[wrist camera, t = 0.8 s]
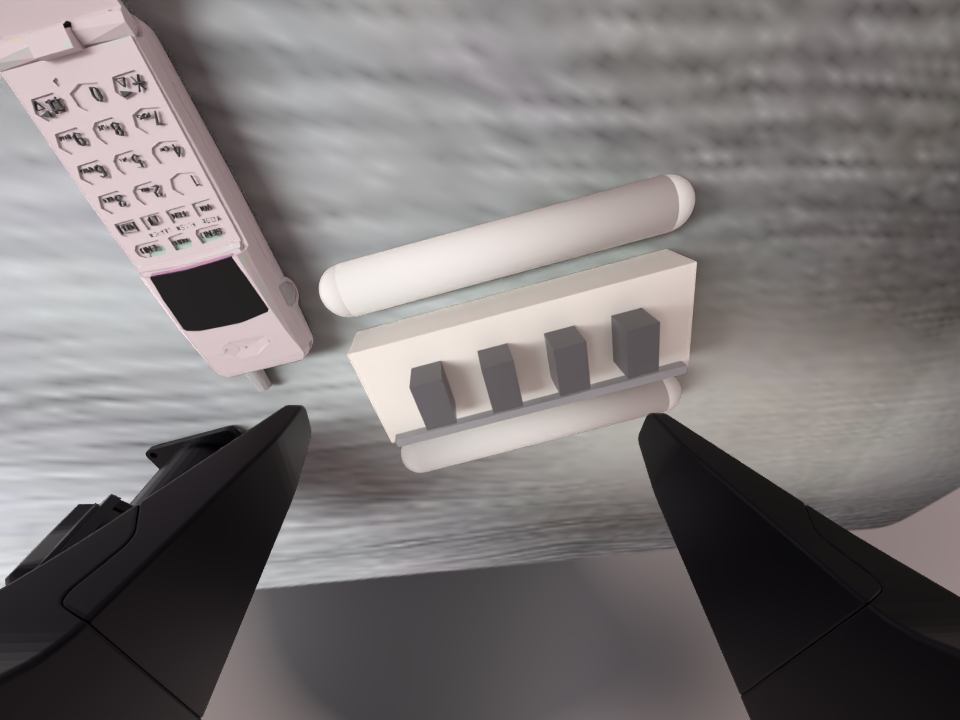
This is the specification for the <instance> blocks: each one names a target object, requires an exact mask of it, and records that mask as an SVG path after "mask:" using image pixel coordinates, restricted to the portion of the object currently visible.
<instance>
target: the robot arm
mask: <svg viewBox="0 0 960 720" xmlns="http://www.w3.org/2000/svg"><path fill="white" fill-rule="evenodd" d="M228 433H229V434H228ZM230 434H231V435H230ZM310 439H311V427H310V423H309V419H308V415H307V411H306V408H305V407H304V406H302V405H287V406H285V407H283V408H281V409H280V410H278V411H277V412H275V413H274V414H272V415H271V416H269V417H268V418H266V419H265V420H263V421H262V422H260V423H259V424H257V425H256V426H254V427H253V428H251V429H250V430H248V431H247V432H245V433H244V434H242V435H241V433H240V432H239V431H238V430H237V429H236V428H234V427H225V428H221V429H217V430H214V431H210V432H206V433H202V434H198V435H195V436H191V437H187V438H183V439H179V440H175V441H172V442H168V443H164V444H160V445H156V446H153V447H151V448H150V449H149V450H148V451H147V452H146V456H147V457H148V458H149V459H150V460H151V461H152V462H153V463H154V464H155V465H156V466H157V467H158V468H159V471H158V472H157V473H156V474H155V475H154V476H153V478H152V479H151V480H150V481H149V482H148V483H147V484H146V486H145V487H144V488H143V489H142V490H141V491H140V493H139V494H138V495H137V496H136V497H135V498H134V500H133V501H132V502H131V503H130V504H128V503H126V502H124V501H122V500H120V499H121V498H120V497H117V496H115V495H113V494H111V495H109V496H108V497H107V498H106V499H105V500H104V501H103V502H102V503H101V504H100V505H99V504H96V503H95V504H79V505H78V506H77V507H75V508H74V509H73V510H72V511H71V512H70V513H69V514H68V515H67V516H66V517H65V518H64V519H63V520H62V521H61V522H60V523H59V524H58V525H57V526H56V527H55V528H54V529H53V530H52V531H51V532H50V533H49V534H48V535H47V536H46V537H45V538H44V539H43V540H42V541H41V542H40V543H39V544H38V545H37V546H36V547H35V548H34V550H33V551H32V552H31V553H30V554H29V555H28V556H27V557H26V558H25V559H24V560H23V561H22V562H21V563H20V564H19V565H18V566H17V567H16V568H15V569H14V570H13V571H12V572H11V573H10V574H9V575H8V576H7V578H6V579H5V585H6V586H5V587H3V588H1V589H0V720H201V717H202V716H203V715H204V712H205V710H206V708H207V705H208V703H209V700H210V698H211V695H212V693H213V690H214V688H215V686H216V683H217V681H218V678H219V676H220V674H221V671H222V669H223V666H224V664H225V662H226V659H227V657H228V654H229V651H230V649H231V647H232V645H233V642H234V640H235V637H236V635H237V633H238V630H239V628H240V625H241V623H242V620H243V618H244V615H245V613H246V611H247V608H248V606H249V604H250V601H251V599H252V596H253V594H254V591H255V589H256V587H257V584H258V582H259V579H260V577H261V575H262V572H263V570H264V567H265V565H266V562H267V560H268V558H269V555H270V553H271V550H272V548H273V546H274V543H275V541H276V538H277V536H278V533H279V531H280V529H281V526H282V524H283V521H284V519H285V517H286V514H287V512H288V509H289V507H290V504H291V502H292V499H293V497H294V494H295V491H296V488H297V485H298V481H299V478H300V474H301V471H302V467H303V464H304V460H305V457H306V453H307V450H308V446H309V442H310ZM638 441H639V446H640V449H641V452H642V455H643V459H644V462H645V465H646V468H647V472H648V475H649V478H650V481H651V485H652V488H653V491H654V494H655V496H656V499H657V501H658V504H659V506H660V508H661V511H662V513H663V515H664V518H665V520H666V522H667V525H668V527H669V529H670V532H671V534H672V536H673V539H674V541H675V543H676V546H677V548H678V550H679V553H680V555H681V557H682V560H683V562H684V565H685V567H686V569H687V572H688V574H689V576H690V579H691V581H692V583H693V585H694V588H695V590H696V593H697V595H698V597H699V599H700V602H701V604H702V606H703V609H704V611H705V614H706V616H707V618H708V621H709V623H710V625H711V628H712V630H713V632H714V635H715V637H716V639H717V642H718V644H719V646H720V649H721V651H722V653H723V656H724V658H725V660H726V663H727V665H728V667H729V670H730V672H731V675H732V677H733V679H734V682H735V684H736V686H737V688H738V691H739V693H740V694H741V699H742V701H743V703H744V706H745V708H746V710H747V713H748V715H749V717H750V720H960V597H959V596H957V595H956V594H954V593H952V592H951V591H949V590H947V589H945V588H944V587H942V586H940V585H939V584H937V583H935V582H933V581H932V580H930V579H928V578H927V577H925V576H923V575H921V574H920V573H918V572H916V571H915V570H913V569H911V568H909V567H908V566H906V565H904V564H903V563H901V562H899V561H897V560H896V559H894V558H892V557H891V556H889V555H887V554H886V553H884V552H882V551H881V550H879V549H877V548H875V547H874V546H872V545H870V544H869V543H867V542H865V541H864V540H862V539H860V538H859V537H857V536H855V535H854V534H852V533H851V532H849V531H847V530H846V529H844V528H843V527H841V526H839V525H838V524H836V523H835V522H833V521H831V520H830V519H828V518H827V517H825V516H824V515H822V514H820V513H819V512H817V511H816V510H814V509H813V508H811V507H810V506H808V505H805V504H804V503H803V502H802V501H800V500H799V499H797V498H796V497H794V496H793V495H791V494H789V493H788V492H786V491H785V490H783V489H782V488H780V487H779V486H777V485H776V484H774V483H772V482H771V481H769V480H768V479H766V478H765V477H763V476H762V475H760V474H758V473H757V472H755V471H754V470H752V469H751V468H749V467H748V466H746V465H745V464H743V463H741V462H740V461H738V460H737V459H735V458H734V457H732V456H731V455H729V454H727V453H726V452H724V451H723V450H721V449H720V448H718V447H717V446H715V445H714V444H712V443H710V442H709V441H707V440H706V439H704V438H703V437H701V436H700V435H698V434H697V433H695V432H693V431H692V430H690V429H689V428H687V427H686V426H684V425H683V424H681V423H679V422H678V421H676V420H675V419H673V418H672V417H670V416H669V415H667V414H665V413H649V414H648V415H647V417H646V419H645V421H644V423H643V426H642V428H641V431H640V433H639V437H638Z"/></svg>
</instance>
